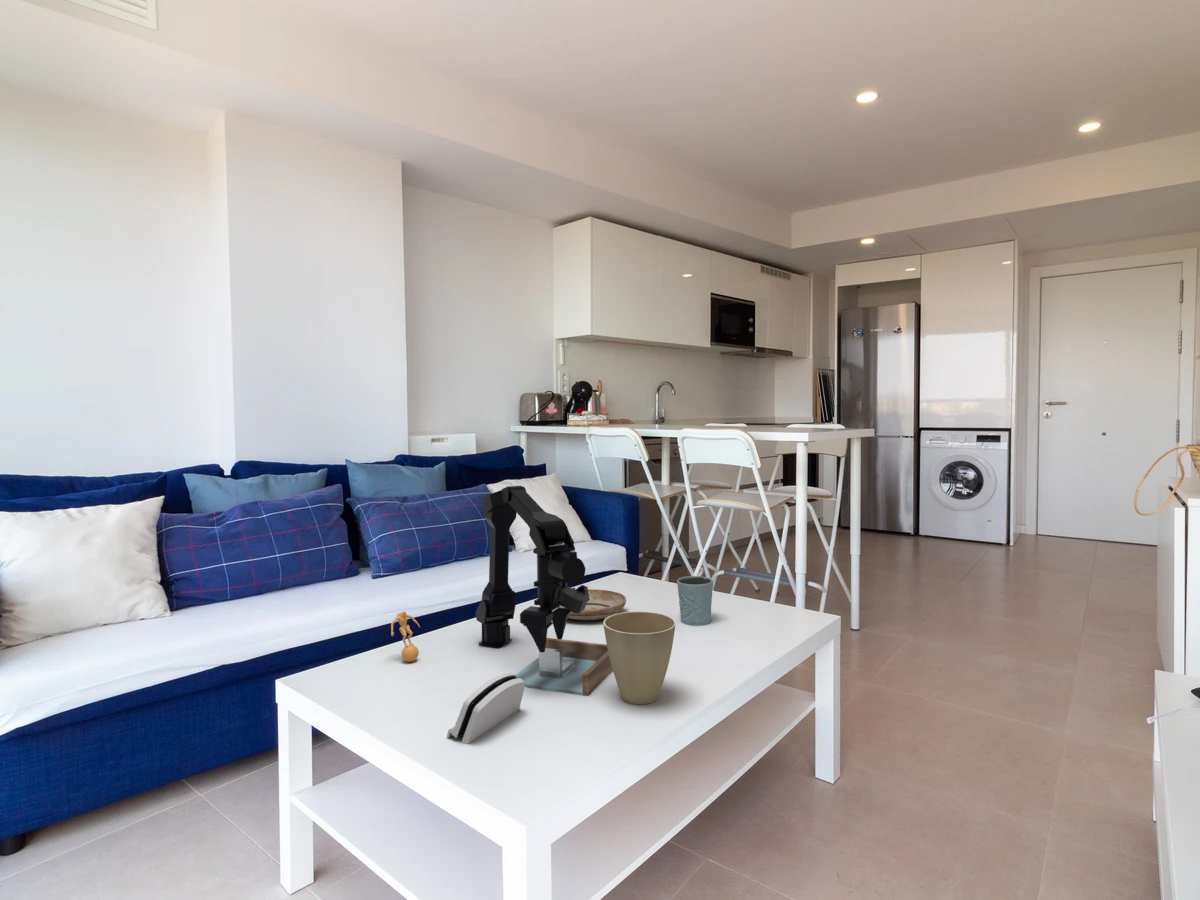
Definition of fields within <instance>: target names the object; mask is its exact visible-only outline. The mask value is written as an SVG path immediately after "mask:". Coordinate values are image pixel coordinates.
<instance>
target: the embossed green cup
mask: <svg viewBox="0 0 1200 900" xmlns="http://www.w3.org/2000/svg"><path fill="white" fill-rule="evenodd" d="M713 583H714V579H712V578H710V577H707V576H700V575H688V576H682V577H679V578H678V579H676V584H677V591H678V593H677V594H678V599H679V600H678V603H679V604H678V605H679V610H680V611H679V614H680V617H679V618H680V622H681V623H682V624H683V625H687V626H694V627H701V626H707V625H709V624H710V623H712V601H713V600H712V598H713V589H714V587H713V586H714V584H713Z"/></svg>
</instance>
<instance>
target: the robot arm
mask: <svg viewBox="0 0 1200 900" xmlns="http://www.w3.org/2000/svg"><path fill="white" fill-rule="evenodd" d="M482 510H483V516H484V517H483V518H485V520H486V522H487V524H488V525H489V528H490V529H489V567H488V568H489V570H488V571H489V572H488V582H487V584H486V586H485V587H484V589H483V591H482V595H481V601H480V603H479V605H478V607H477V609H476V611H475V617H476V621H477V622H479V623H481V641H480V642H478V645H479V646H481V647H482V646H483V647H489V648H490V647H491V648H498V649H499V648H502V647H504V646H505V645H507V644H509V643H510V642H512V640H513V638H511V625H510V624H509V620H513V619H514V616H515V611H516V604H517V602H516V592H515V590H513V589H512V587H511V585H510V584H509V563H510V561H509V558H510V557H509V556H510V530H511V527H512V525H513V523H514V521H516V519H517V515H518V516H519V517H520V518H521V520H523V522H524V523H525V524H526V525H527V526H528V528H529V532H528V535H529V537H530V539H531V540H532V542H533V544H534V545H535V548H534V549H533V550H532V552H533V554H534V555H535V554H536V569H537V570H536V571H537V574H536V576H537V579H536V580H535V581H533V587H537V598H536V599H534V600H533V602H534V604H533V605H534V606H529V607H527V608H525V609H523V610H522V611H521V612H520V613H519V624H522V626H523V627H525V628H526V629H527V631H528V632H529V634H530V636H531V637H532V639H533V641H534V644H535V646H536V647H537V650H538V652H539V651H540V652H545V647H546V638H548V629H549V628H550V627H551V626H552V625H553V629H554V633H555V637H556V639H562V640H563V637H564V634H565V630H566V626H567V623H568V619H569V618H568V615H569V614H570V613H571V612H573V613H576V614H579V613H580V612H581V611H582V610H584V609H585V606H586V603H587V602H588V601H589V600H590V598H589V594H588V590H589V587H588V586H586V585H584V584H581V585H579V586H578V587H577V588H576V587H570V586H569V585H571V586H575V585H578V584H579V583H580V582H581V581H582V580H583V579H584V577H585V575H586V566H585V563H584V562H583V560H582V559H581V558H578V552H577V551H576V547H575V542H574V539H573V537H572V536H571V534H570V530H569V528H568V526H567V524H566V522H565V521H564V520H563V519H562V518H561V517H559V516H557V515H556V514H552V513H548V512H546V511H545V510H544V509H543V508H542V507H541V506H540V505H539V504H538V502H536V501H535V500H534V498H533V497H532V496H531V495H530V494H529V493H528V492H527V489H526V487H525V486H522V485H513V486H512V485H511V486H510V485H509V486H505V487H502V488H501V490H500V489H499V490H498V491H494V492H493V493H488V494H487V495H486V496H485V497H484V499H483V500H482Z"/></svg>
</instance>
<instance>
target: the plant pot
mask: <svg viewBox="0 0 1200 900" xmlns="http://www.w3.org/2000/svg"><path fill="white" fill-rule="evenodd" d="M602 623H603V630H604V637H605V643H606V645H607V649H608V653H609V658H610V662H611V665H612V669H613V670H612V672H613V675H614V678H615V682H616V684H617V688H618V690H619V693H620V695H621V698H622V700H623V701H625V702H627V703H630V704H632V705H633V704H634V705H648V704H651V703H654V702H655V701H657V699H658V698H659V694H660V693H661V689H662V688H663V687H662V686H663V685H664V681H665V678H666V675H667V672H668V667H669V663H670V659H671V657H672V656H671V655H672V650H673V649H672V648H673V643H674V639H675V631H676V621H675V619H674V618H673V617H670V616H669V615H667V614H663V613H658V612H653V611H625V612H618V613H616V614H614V615H611V616H609V617H607V618H604V620H603V622H602Z"/></svg>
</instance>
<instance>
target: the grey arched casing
mask: <svg viewBox="0 0 1200 900" xmlns="http://www.w3.org/2000/svg"><path fill="white" fill-rule="evenodd" d="M525 688H526V687H525V682H524V681H523V680H522V679H521V678H517V677H516V674H513V673H511V672H507V673H501V674H498V675H496V676H494V677H492V678H490V679H489V680H487V681H486V682H484V683H483V684H481V685H480V686H479V687H478V688H476V689H475V690H473V692H472V693H471V694H469V696H468V697H467V698H465V700H464V702H463V703H462V706H461V708H460V712H459V715H458V717H457V720H456V722H455V725H454V726H452V727H451V728H450V727H449V729H448V730H447V734H446V739H450V738H451V737H454V738H455V739H457V738H460V739H461V743H463V744H464V745H469V744H470V743H471V742H473V741H475V739H477V738H479V737H480V736H482V735H483V734H484V733H487V732H488V731H489V730H491V729H492V728H493V727H495V726H497V725H498V724H499V723H501V722H502V721H504V720H506V719H507V718H508V717H510V716H511V715H513V714H514V713H516V712H517V711H519V710H520V709H521V704H522V700H523V696H524V691H525Z"/></svg>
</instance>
